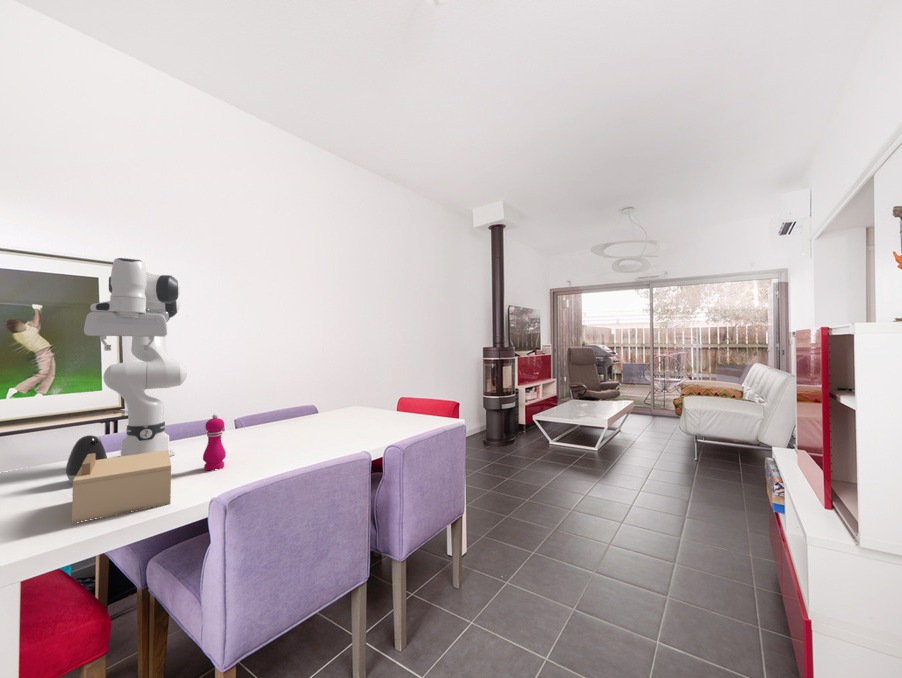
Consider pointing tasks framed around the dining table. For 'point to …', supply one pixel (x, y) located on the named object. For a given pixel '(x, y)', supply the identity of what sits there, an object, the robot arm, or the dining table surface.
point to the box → (120, 495)
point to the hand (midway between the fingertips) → (127, 350)
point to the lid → (121, 466)
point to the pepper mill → (214, 444)
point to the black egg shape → (83, 454)
